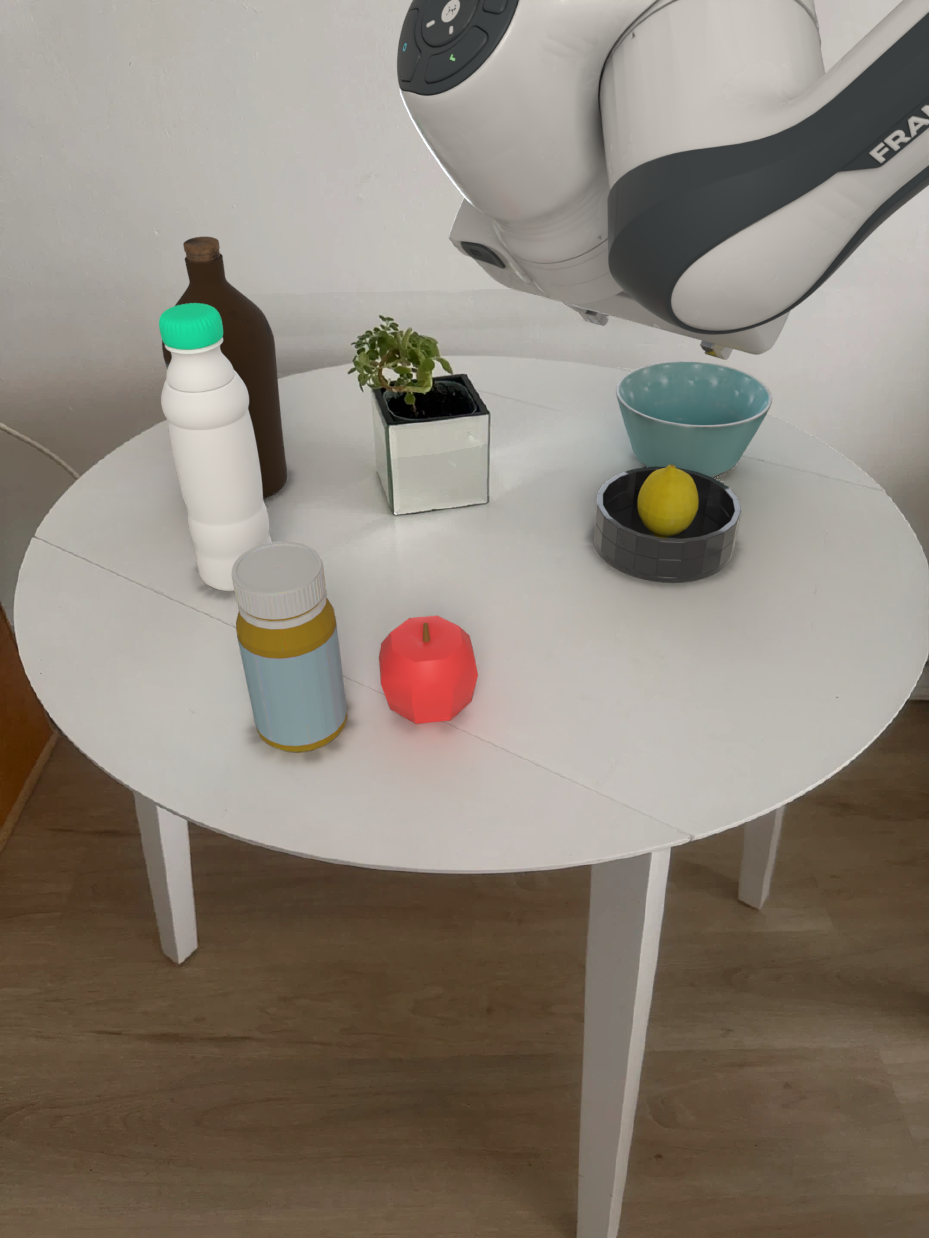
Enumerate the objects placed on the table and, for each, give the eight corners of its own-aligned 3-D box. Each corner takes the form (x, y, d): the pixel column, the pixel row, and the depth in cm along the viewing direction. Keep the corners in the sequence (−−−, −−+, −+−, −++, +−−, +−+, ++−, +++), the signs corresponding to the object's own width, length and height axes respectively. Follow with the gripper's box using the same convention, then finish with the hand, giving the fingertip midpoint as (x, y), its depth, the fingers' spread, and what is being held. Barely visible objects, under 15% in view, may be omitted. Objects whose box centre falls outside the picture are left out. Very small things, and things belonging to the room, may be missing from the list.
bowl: (583, 445, 111) (588, 375, 106) (701, 415, 116) (711, 348, 111) (663, 513, 99) (672, 440, 94) (789, 477, 105) (805, 406, 99)
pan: (745, 521, 98) (753, 482, 95) (715, 596, 89) (723, 555, 86) (616, 494, 102) (620, 456, 100) (575, 563, 93) (577, 523, 90)
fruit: (701, 549, 93) (713, 475, 88) (645, 557, 93) (654, 482, 88) (679, 518, 98) (690, 445, 93) (625, 525, 97) (633, 452, 92)
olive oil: (269, 447, 111) (234, 216, 96) (309, 489, 104) (278, 247, 89) (177, 473, 107) (125, 236, 91) (212, 519, 100) (162, 270, 84)
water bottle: (240, 604, 89) (187, 336, 73) (183, 579, 92) (121, 317, 76) (292, 565, 93) (253, 305, 78) (237, 542, 97) (188, 288, 81)
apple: (464, 747, 75) (462, 667, 70) (364, 728, 76) (356, 648, 71) (491, 678, 81) (491, 600, 76) (398, 662, 82) (392, 584, 77)
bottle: (364, 708, 78) (347, 551, 69) (317, 768, 73) (292, 608, 64) (289, 684, 81) (262, 528, 71) (239, 740, 76) (203, 582, 66)
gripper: (785, 197, 50) (827, 323, 62) (471, 141, 61) (558, 258, 73) (730, 310, 50) (782, 415, 62) (426, 235, 61) (520, 337, 73)
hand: (659, 330), depth 67 cm, fingers open, 8 cm apart
